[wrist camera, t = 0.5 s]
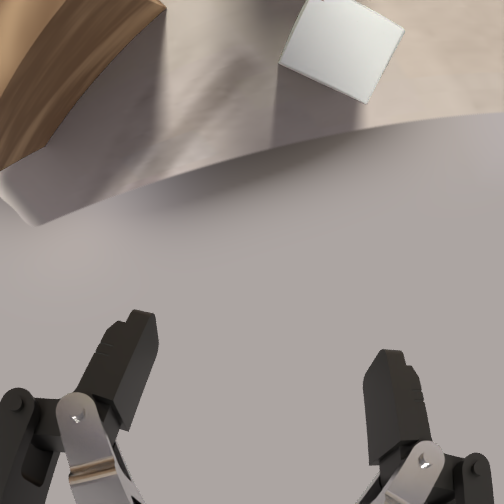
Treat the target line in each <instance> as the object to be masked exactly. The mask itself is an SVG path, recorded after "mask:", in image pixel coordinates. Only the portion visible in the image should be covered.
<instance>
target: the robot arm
mask: <svg viewBox="0 0 504 504" xmlns="http://www.w3.org/2000/svg"><path fill="white" fill-rule="evenodd" d="M158 341H159V340H158V333H157V326H156V318H155V315H154V314H153V313H149V312H144V311H140V310H133V311H132V312H131V313H130V315H129V317H128V319H127V321H126V323H125V322H121V321H117V322H115V323H114V324H113V325H112V326H111V327H110V328H108V329H107V330H106V332H105V334H104V336H103V338H102V340H101V343H100V344H99V345H98V347H97V349H96V353H94V355H93V357H92V359H91V361H90V362H89V365H88V367H87V368H86V370H85V372H84V374H83V377H82V378H81V380H80V383H79V384H78V386H77V388H76V389H75V391H74V392H72V393H69V394H67V395H65V396H64V397H62V398H61V399H44V398H34V397H33V396H32V395H31V394H30V392H28V391H27V390H25V389H23V388H14V389H11V390H9V391H8V392H7V393H6V394H5V395H4V396H3V398H2V400H1V402H0V504H45V500H46V497H47V493H48V490H49V487H50V483H51V480H52V477H53V473H54V470H55V467H56V464H57V460H58V458H59V455H60V452H65V453H66V456H67V460H68V463H69V466H70V471H71V472H70V474H69V483H70V487H71V490H72V493H73V495H74V498H75V501H76V504H145V501H144V500H143V498H142V496H141V494H140V492H139V490H138V489H137V487H136V485H135V483H134V481H133V479H132V477H131V475H130V472H129V470H128V468H127V465H126V463H125V461H124V458H123V456H122V453H121V451H120V448H119V446H118V443H117V441H116V437H117V434H118V432H119V429H122V430H125V431H129V429H130V426H131V423H132V421H133V418H134V415H135V412H136V409H137V406H138V404H139V401H140V398H141V396H142V393H143V390H144V387H145V385H146V382H147V380H148V377H149V374H150V371H151V369H152V366H153V364H154V361H155V358H156V356H157V352H158V345H159V342H158ZM363 393H364V403H365V413H366V424H367V436H368V452H369V465H379V466H380V472H379V473H378V474H377V475H376V476H375V478H374V479H373V480H372V482H371V483H370V485H369V486H368V487H367V489H366V490H365V491H364V493H363V494H362V495H361V497H360V498H359V499H358V500H357V502H356V503H355V504H494V497H493V487H492V478H491V471H490V465H489V462H488V460H487V459H486V457H485V456H484V455H482V454H480V453H472V454H470V455H468V456H467V457H466V458H460V457H455V456H452V455H447V454H444V453H443V451H442V449H441V448H440V446H439V445H437V444H436V443H434V442H433V441H432V438H431V433H430V428H429V423H428V417H427V412H426V407H425V403H424V402H423V400H424V398H423V393H422V392H421V385H420V381H419V377H418V375H417V374H416V372H415V371H414V369H413V367H412V366H407V365H406V363H405V359H404V355H403V352H402V351H398V350H386V349H382V350H380V351H379V353H378V355H377V356H376V358H375V359H374V361H373V363H372V364H371V366H370V367H369V369H368V370H367V372H366V374H365V377H364V381H363Z"/></svg>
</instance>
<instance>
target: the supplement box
mask: <svg viewBox="0 0 504 504" xmlns="http://www.w3.org/2000/svg"><path fill="white" fill-rule="evenodd" d="M404 33H405V30H404V29H403V28H402V27H401V26H399V25H397V24H396V23H394V22H393V21H391V20H389V19H387V18H386V17H384V16H382V15H380V14H379V13H377V12H375V11H373V10H371V9H370V8H368V7H366V6H364V5H363V4H361V3H359V2H357V1H354V0H306V2H305V4H304V5H303V7H302V9H301V11H300V13H299V15H298V17H297V20H296V22H295V24H294V26H293V28H292V30H291V33H290V35H289V37H288V40H287V42H286V44H285V47H284V49H283V52H282V54H281V57H280V59H279V62H278V64H280V65H282V66H284V67H287V68H289V69H291V70H293V71H295V72H297V73H299V74H302V75H304V76H306V77H308V78H310V79H312V80H314V81H316V82H319V83H321V84H323V85H325V86H327V87H329V88H332V89H334V90H336V91H338V92H340V93H342V94H344V95H347V96H349V97H351V98H353V99H355V100H357V101H359V102H362V103H364V104H367V103H368V101H369V99H370V97H371V95H372V93H373V91H374V89H375V87H376V85H377V83H378V81H379V80H380V78H381V76H382V74H383V72H384V70H385V68H386V67H387V65H388V63H389V61H390V59H391V57H392V55H393V53H394V52H395V50H396V48H397V46H398V44H399V42H400V40H401V38H402V36H403V35H404Z"/></svg>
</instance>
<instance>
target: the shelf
mask: <svg viewBox="0 0 504 504" xmlns="http://www.w3.org/2000/svg"><path fill="white" fill-rule="evenodd" d="M165 9H166V7H165V6H164V5H163V4H162V3H161V2H160V1H159V0H0V171H1V170H3V169H5V168H7V167H8V166H10V165H12V164H13V163H15V162H17V161H19V160H20V159H22V158H24V157H26V156H28V155H29V154H31V153H33V152H35V151H37V150H39V149H41V148H43V147H45V145H46V144H47V142H48V141H49V139H50V138H51V136H52V135H53V133H54V132H55V131H56V129H57V128H58V126H59V125H60V124H61V122H62V121H63V119H64V118H65V117H66V115H67V114H68V113H69V111H70V110H71V109H72V107H73V106H74V105H75V104H76V102H77V101H78V100H79V98H80V97H81V96H82V95H83V94H84V92H85V91H86V90H87V89H88V87H89V86H90V85H91V84H92V83H93V81H94V80H95V79H96V78H97V77H98V76H99V74H100V73H101V72H102V71H103V70H104V69H105V68H106V67H107V65H108V64H109V63H110V62H111V61H112V60H113V59H114V58H115V57H116V56H117V55H118V54H119V53H120V52H121V51H122V49H123V48H124V47H125V46H126V45H127V44H128V43H129V42H130V41H131V40H132V39H133V38H134V37H135V36H136V35H137V34H138V33H140V32H141V31H142V30H143V29H144V28H145V27H146V26H147V25H148V24H149V23H150V22H151V21H152V20H153V19H155V18H156V17H157V16H158V15H159V14H160V13H161V12H162V11H164V10H165Z"/></svg>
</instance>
